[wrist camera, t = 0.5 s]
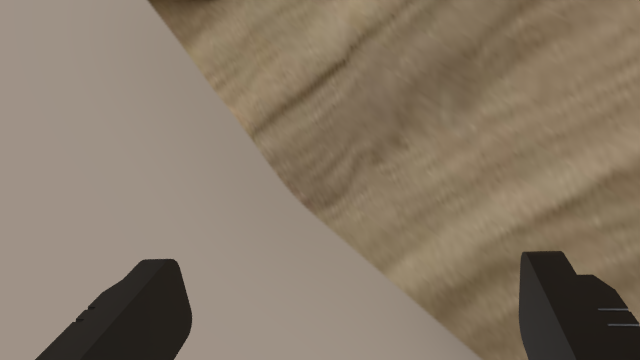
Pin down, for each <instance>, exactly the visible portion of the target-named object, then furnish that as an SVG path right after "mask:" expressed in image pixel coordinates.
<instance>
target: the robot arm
mask: <svg viewBox="0 0 640 360" xmlns="http://www.w3.org/2000/svg"><path fill="white" fill-rule="evenodd" d="M191 325H192V312H191V308H190V304H189V300H188V297H187V293H186V289H185V285H184V282H183V278H182V274H181V271H180V267H179V265H178V263H177V262H176V261H175V260H174V259H148V260H142V261H141V262H139V263H138V265H136V266H135V267H134V268H133V270H132V271H131V272H130V273H129V274H128V275H127V276H126V277H125V278H124V279H123V280H121V281H120V282H118V283H117V284H115V285H114V286H112V287H110V288H109V289H107V290H106V291H104V292H102V293H101V294H100V295H99V297H97V299H95V300H94V301H93V302H92V303H91V304H90V305H89V306H88V310H84V311H83V312H82V313H81V314H80V315H79V316H78V318H76V322H72V323H71V324H70V326H69V327H67V328H66V329H65V330H64V332H62V334H60V335H59V336H58V337H57V338H56V340H54V342H52V343H51V344H50V345H49V346H48V347H47V349H46V350H45V351H43V352H42V353H41V354H40V355H39V356H38V357H37V358H36V359H35V360H174V358H175V357H176V355H177V354H178V352H179V350H180V349H181V347H182V346H183V344H184V342H185V341H186V339H187V338H188V335H189V333H190V329H191ZM519 325H520V332H521V337H522V341H523V344H524V347H525V350H526V353H527V356H528V359H529V360H640V326H639V323H638V321H637V320H636V318H635V317H634V316H633V314H632V313H631V312H629V311H628V307H627V306H626V304H625V303H624V302H623V300H622V299H621V297H620V296H619V295H618V293H617V292H616V290H615V289H613V288H612V287H610V286H609V285H607V284H606V283H604V282H603V281H601V280H600V279H598V278H597V277H596V276H594V275H577V274H576V272H575V271H574V269H573V268H572V266H571V264H570V263H569V261H568V259H567V258H566V256H565V255H564V253H563V252H562V251H538V252H523V253H522V256H521V264H520V292H519Z"/></svg>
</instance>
